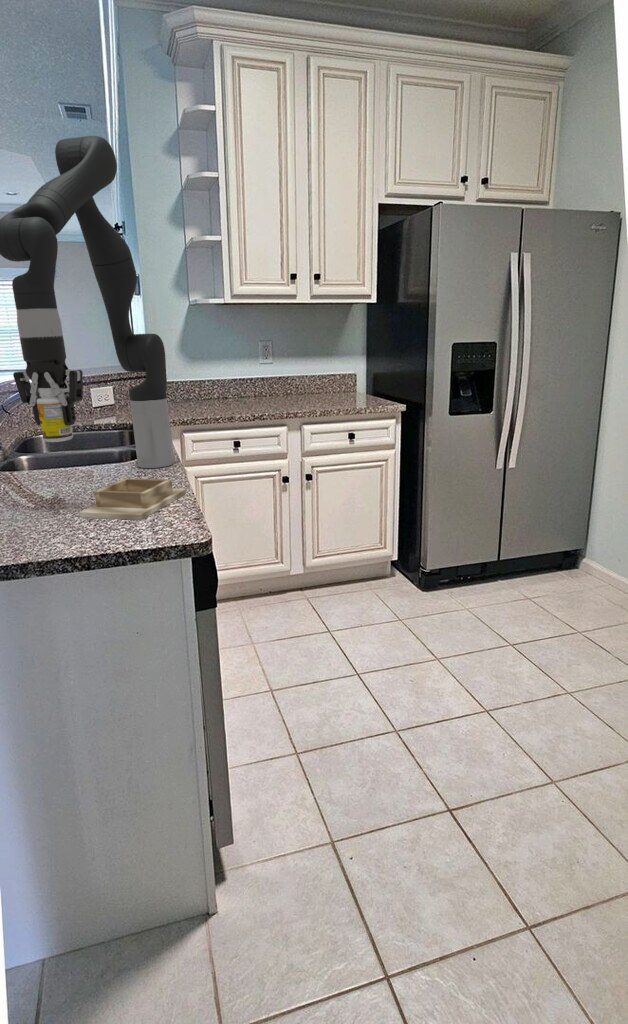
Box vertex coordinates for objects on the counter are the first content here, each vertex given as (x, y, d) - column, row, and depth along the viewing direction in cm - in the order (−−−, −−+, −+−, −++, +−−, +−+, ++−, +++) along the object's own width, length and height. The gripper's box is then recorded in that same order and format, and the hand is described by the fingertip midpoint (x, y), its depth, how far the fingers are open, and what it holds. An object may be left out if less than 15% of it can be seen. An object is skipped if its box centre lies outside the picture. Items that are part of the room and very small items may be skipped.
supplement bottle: (47, 438, 123) (39, 386, 120) (76, 436, 124) (68, 385, 121) (39, 443, 118) (30, 389, 115) (69, 441, 118) (61, 387, 115)
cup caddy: (132, 491, 135) (130, 474, 134) (186, 493, 132) (184, 475, 131) (80, 517, 118) (77, 497, 117) (141, 519, 115) (138, 499, 113)
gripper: (86, 333, 116) (99, 421, 121) (22, 335, 120) (37, 421, 125) (61, 334, 110) (76, 428, 115) (-6, 337, 113) (11, 428, 118)
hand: (56, 424), depth 120 cm, fingers closed on supplement bottle, 5 cm apart
